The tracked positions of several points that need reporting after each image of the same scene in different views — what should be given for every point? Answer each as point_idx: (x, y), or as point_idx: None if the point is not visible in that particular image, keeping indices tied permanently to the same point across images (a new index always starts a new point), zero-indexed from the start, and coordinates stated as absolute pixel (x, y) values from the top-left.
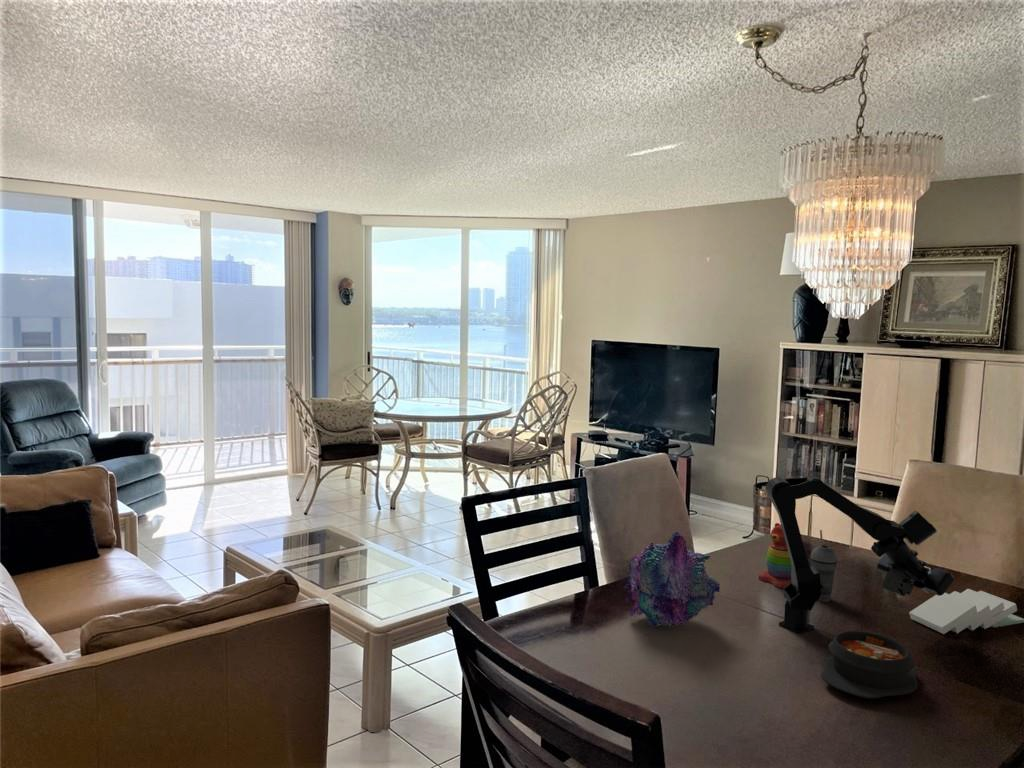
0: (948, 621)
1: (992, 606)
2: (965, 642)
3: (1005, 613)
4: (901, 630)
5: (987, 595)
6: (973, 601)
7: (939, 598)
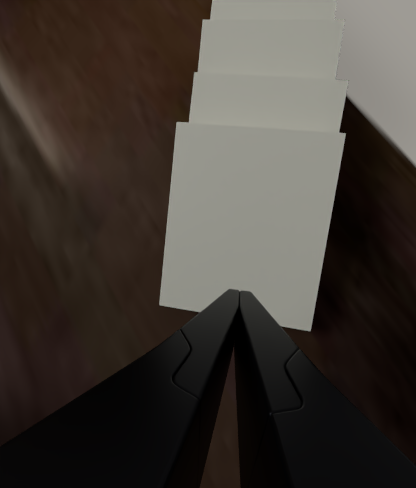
0: (310, 286)
1: (327, 66)
2: (371, 307)
3: None
4: (212, 434)
5: (244, 6)
6: (287, 93)
7: (198, 170)
